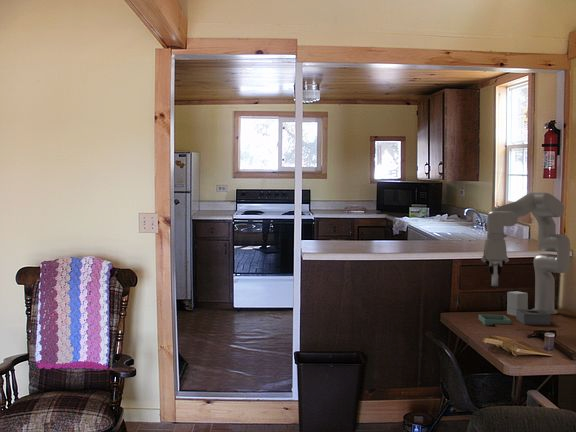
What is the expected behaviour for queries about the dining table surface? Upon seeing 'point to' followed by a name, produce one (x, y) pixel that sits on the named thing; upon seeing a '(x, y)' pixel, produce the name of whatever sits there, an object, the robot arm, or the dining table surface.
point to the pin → (495, 272)
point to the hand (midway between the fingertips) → (494, 274)
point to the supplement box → (516, 302)
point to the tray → (488, 320)
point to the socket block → (533, 317)
